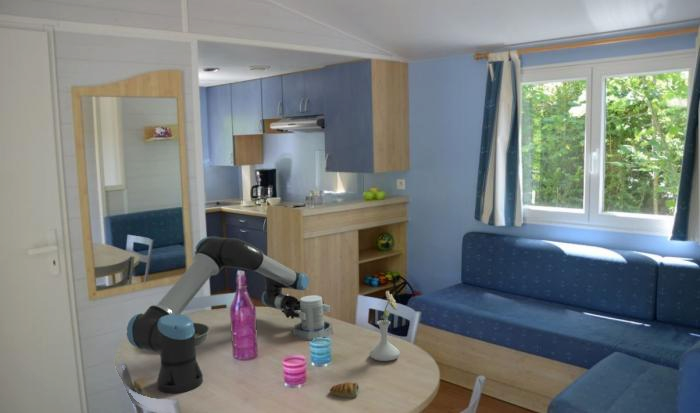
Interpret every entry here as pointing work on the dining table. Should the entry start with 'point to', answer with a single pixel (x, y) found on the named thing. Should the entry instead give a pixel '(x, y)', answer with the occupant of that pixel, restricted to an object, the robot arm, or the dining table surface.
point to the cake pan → (200, 332)
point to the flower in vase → (385, 337)
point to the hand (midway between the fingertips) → (317, 312)
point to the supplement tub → (312, 313)
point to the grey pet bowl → (311, 335)
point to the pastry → (345, 390)
